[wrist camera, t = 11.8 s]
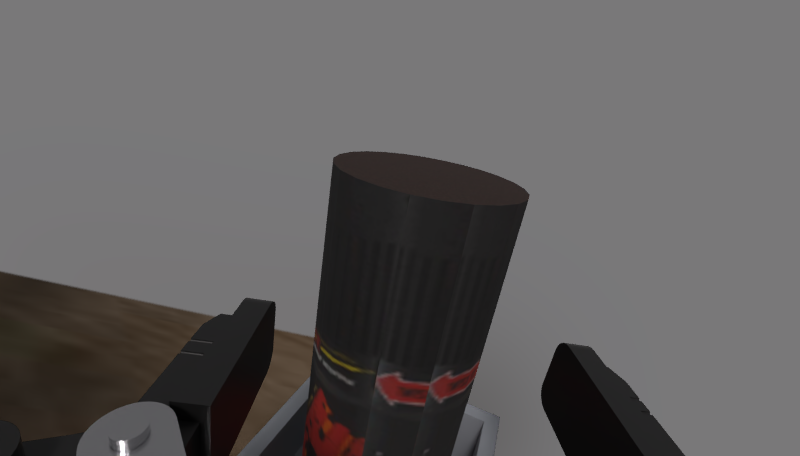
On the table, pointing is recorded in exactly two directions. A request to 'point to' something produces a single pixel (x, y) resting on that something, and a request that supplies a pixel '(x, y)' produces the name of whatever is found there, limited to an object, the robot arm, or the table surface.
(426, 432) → the deodorant
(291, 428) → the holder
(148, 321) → the table surface
